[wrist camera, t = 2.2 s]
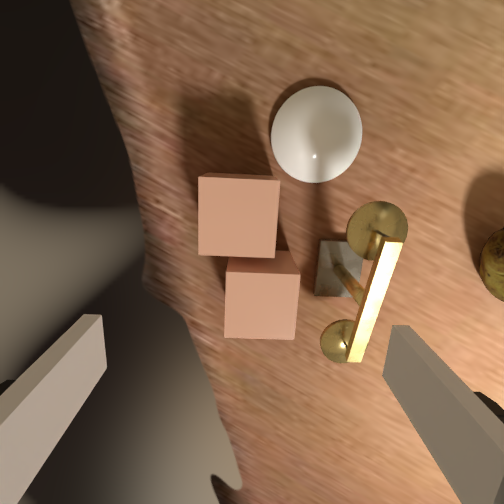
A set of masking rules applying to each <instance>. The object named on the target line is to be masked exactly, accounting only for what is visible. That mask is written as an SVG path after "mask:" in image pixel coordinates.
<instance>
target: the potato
mask: <svg viewBox="0 0 504 504" xmlns="http://www.w3.org/2000/svg"><path fill="white" fill-rule="evenodd" d="M480 260H481V264H480V270H479V272H480V276H481V279H482V281H483V283H484V285H485V286H486V288H487V289H488V291H489V292H490V293H491V294H492V295H493V296H495V297H496V298H498V299H499V300H501V301H503V302H504V227H503V229H501V230H499V231H498V232H496V233H494V234H493V235H492V236H491V237H489V239H488V242H487V243H486V244H485V246H484V248H483V250H482V253H481V254H480Z"/></svg>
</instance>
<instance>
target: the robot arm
mask: <svg viewBox="0 0 504 504" xmlns="http://www.w3.org/2000/svg"><path fill="white" fill-rule="evenodd" d="M106 368H107V364H106V354H105V344H104V334H103V326H102V315H86V314H84V315H83V316H82V317H81V318H80V319H79V320H78V321H77V322H76V323H75V324H74V325H73V326H72V327H71V328H70V329H69V330H68V331H67V332H66V333H65V334H64V335H62V336H61V337H60V338H59V339H58V340H57V341H56V342H55V343H54V344H53V345H52V346H51V347H50V348H49V349H48V350H47V351H46V352H45V353H44V354H43V355H42V356H41V357H40V358H39V359H38V360H37V361H36V362H35V363H34V364H33V365H31V366H30V367H29V369H28V370H26V371H25V372H24V373H23V374H22V375H21V376H20V377H19V378H18V379H17V380H6V381H5V382H3V383H1V384H0V504H17V503H18V501H19V500H20V498H21V497H22V495H23V494H24V492H25V491H26V489H27V488H28V486H29V485H30V483H31V482H32V480H33V479H34V477H35V476H36V474H37V473H38V471H39V470H40V468H41V466H42V465H43V464H44V462H45V460H46V459H47V457H48V456H49V454H50V453H51V451H52V450H53V448H54V447H55V445H56V444H57V442H58V441H59V439H60V438H61V436H62V435H63V433H64V432H65V430H66V429H67V427H68V426H69V424H70V422H71V421H72V420H73V418H74V417H75V415H76V413H77V412H78V411H79V409H80V407H81V406H82V404H83V403H84V402H85V400H86V399H87V397H88V395H89V394H90V392H91V391H92V389H93V388H94V386H95V385H96V383H97V382H98V380H99V379H100V377H101V376H102V374H103V373H104V371H105V370H106ZM382 376H383V378H384V379H385V381H386V382H387V384H388V386H389V387H390V389H391V391H392V392H393V394H394V395H395V397H396V399H397V400H398V402H399V403H400V405H401V407H402V408H403V410H404V411H405V413H406V415H407V416H408V418H409V419H410V421H411V423H412V424H413V426H414V428H415V429H416V431H417V432H418V434H419V436H420V437H421V439H422V440H423V442H424V444H425V445H426V447H427V448H428V450H429V452H430V453H431V455H432V456H433V458H434V460H435V461H436V463H437V465H438V466H439V468H440V469H441V471H442V473H443V474H444V476H445V477H446V479H447V481H448V482H449V484H450V485H451V487H452V489H453V490H454V492H455V494H456V495H457V497H458V498H459V500H460V502H461V503H462V504H504V410H503V409H502V408H501V407H500V406H499V405H498V404H497V403H496V402H494V401H493V400H491V399H490V398H488V397H487V396H485V395H484V394H482V393H481V392H473V391H472V390H471V389H470V388H469V387H468V386H467V385H466V384H465V383H464V382H463V381H462V380H461V379H460V378H459V377H458V376H457V375H456V374H455V373H454V372H453V371H452V370H451V369H450V368H449V367H448V366H447V364H446V363H445V362H444V361H443V360H442V359H441V358H440V357H439V356H438V355H437V354H436V353H435V352H434V351H433V350H432V349H431V348H430V347H429V346H428V345H427V344H426V343H425V342H424V341H423V340H422V339H421V338H420V336H419V335H418V334H417V333H416V332H415V331H414V330H413V329H412V328H411V327H410V326H406V325H392V330H391V335H390V340H389V345H388V350H387V355H386V360H385V365H384V370H383V375H382Z"/></svg>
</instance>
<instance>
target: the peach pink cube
mask: <svg viewBox="0 0 504 504" xmlns="http://www.w3.org/2000/svg"><path fill="white" fill-rule="evenodd" d="M300 276H301V275H300V272H299V270H298V268H297V266H296V264H295V261H294V259H293V257H292V255H291V253H290V251H275V258H258V257H234V256H229V258H228V264H227V270H226V294H225V333H224V338H253V339H283V340H294V336H295V326H296V316H297V306H298V296H299V286H300Z"/></svg>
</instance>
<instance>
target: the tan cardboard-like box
mask: <svg viewBox="0 0 504 504" xmlns="http://www.w3.org/2000/svg"><path fill="white" fill-rule="evenodd" d="M279 192H280V180H279V179H277V178H276V177H274V176H272V175H252V174H231V173H211V172H209V173H206V174H204V175H201V176H199V177H198V240H199V255H210V256H234V257H258V258H275V246H276V233H277V219H278V205H279Z"/></svg>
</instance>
